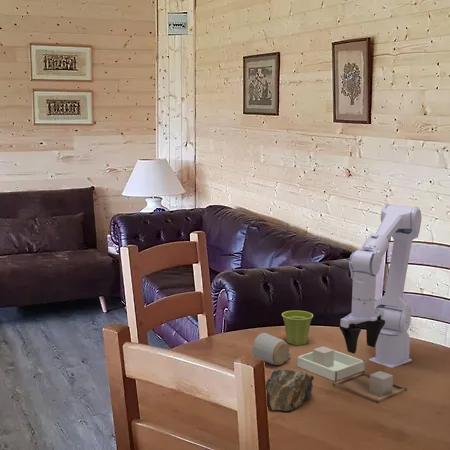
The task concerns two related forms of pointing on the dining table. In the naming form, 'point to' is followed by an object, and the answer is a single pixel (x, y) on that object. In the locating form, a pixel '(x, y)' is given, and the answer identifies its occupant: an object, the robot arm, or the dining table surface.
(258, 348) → the ceramic mug
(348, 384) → the wooden tray
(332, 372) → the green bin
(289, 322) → the plant pot
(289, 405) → the rock
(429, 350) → the dining table surface
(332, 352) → the stone
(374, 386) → the stone
